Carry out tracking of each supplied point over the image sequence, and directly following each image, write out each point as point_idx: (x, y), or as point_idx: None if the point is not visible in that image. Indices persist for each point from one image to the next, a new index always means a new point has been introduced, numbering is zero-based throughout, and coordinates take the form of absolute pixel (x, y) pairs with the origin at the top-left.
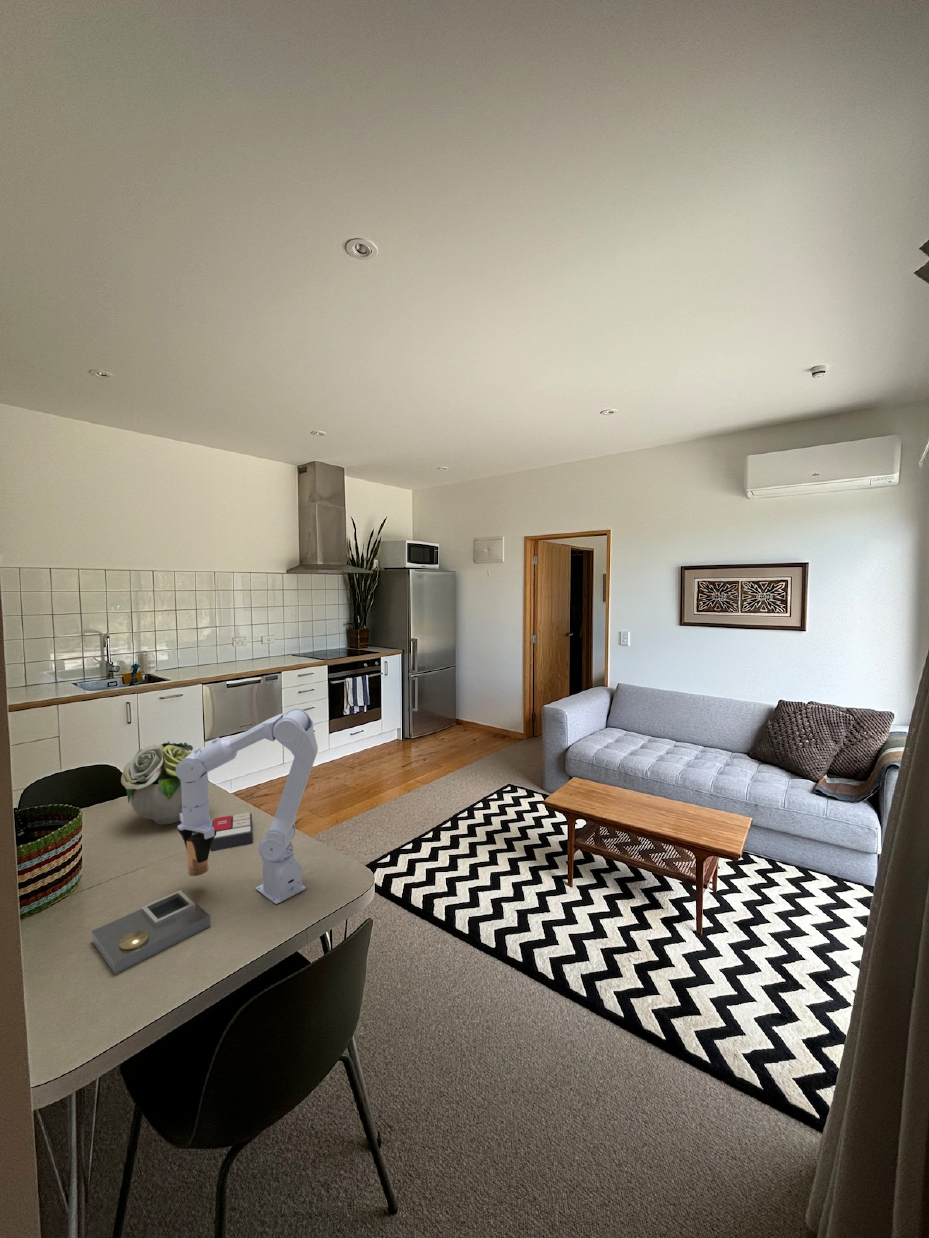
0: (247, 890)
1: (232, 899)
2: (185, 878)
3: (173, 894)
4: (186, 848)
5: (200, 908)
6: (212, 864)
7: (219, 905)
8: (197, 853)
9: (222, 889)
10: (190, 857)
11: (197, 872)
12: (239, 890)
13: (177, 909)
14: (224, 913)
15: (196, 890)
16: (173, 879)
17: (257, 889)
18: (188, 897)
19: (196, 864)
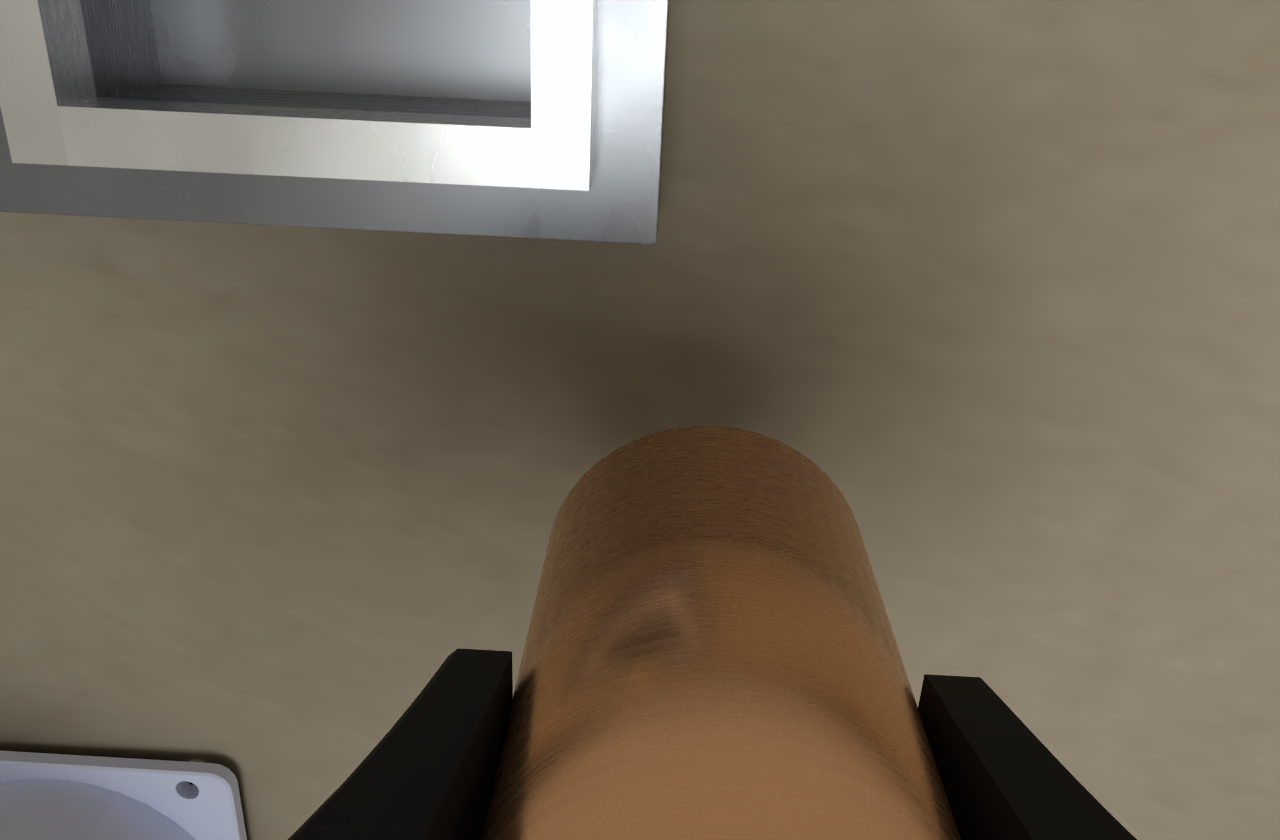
0: (287, 712)
1: (236, 556)
2: (1134, 450)
3: (549, 59)
4: (1048, 769)
5: (2, 192)
6: (1110, 753)
7: (223, 424)
8: (325, 806)
9: (513, 585)
10: (625, 641)
11: (558, 525)
12: (350, 671)
13: (472, 49)
14: (26, 384)
15: (747, 409)
16: (1267, 350)
17: (182, 769)
18: (413, 212)
19: (544, 606)
